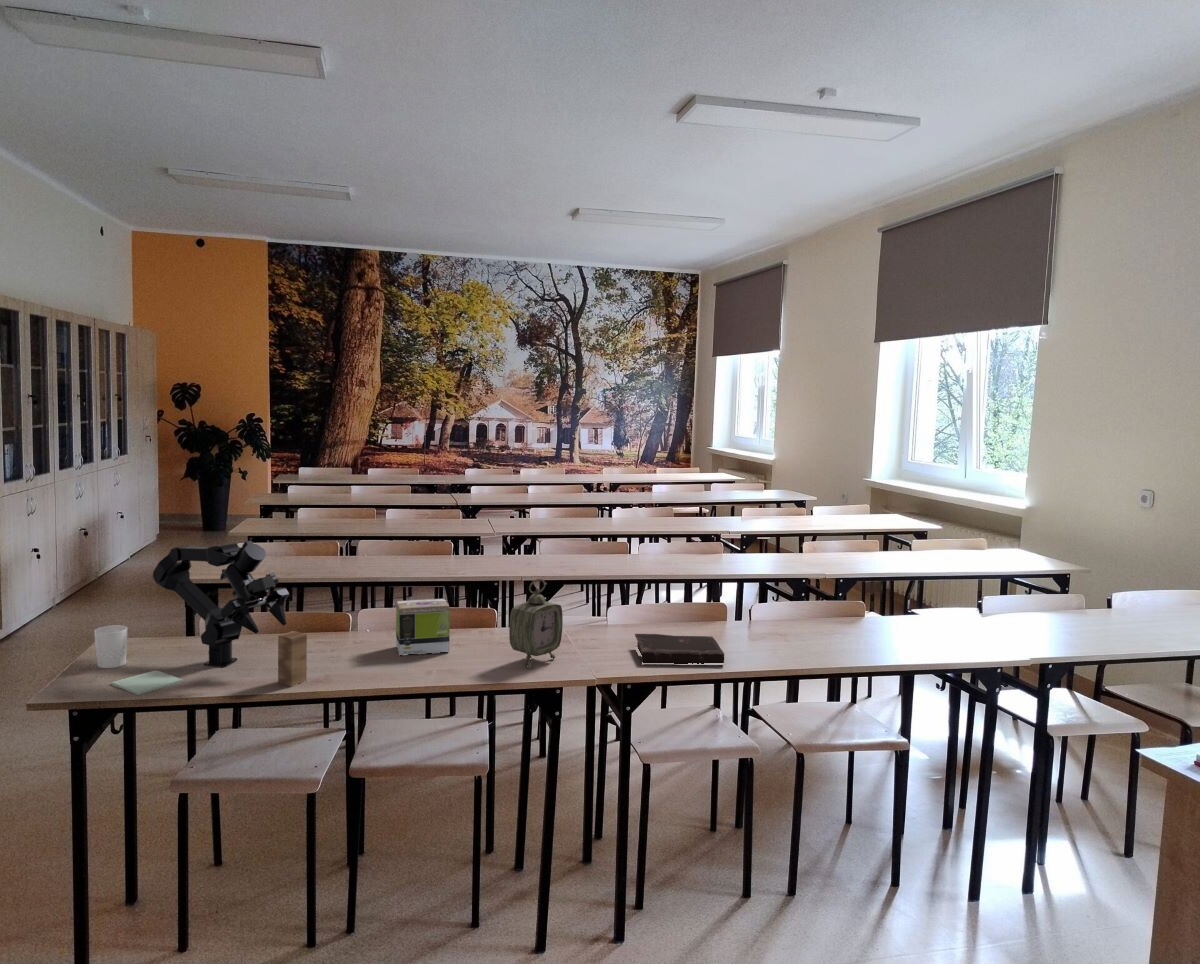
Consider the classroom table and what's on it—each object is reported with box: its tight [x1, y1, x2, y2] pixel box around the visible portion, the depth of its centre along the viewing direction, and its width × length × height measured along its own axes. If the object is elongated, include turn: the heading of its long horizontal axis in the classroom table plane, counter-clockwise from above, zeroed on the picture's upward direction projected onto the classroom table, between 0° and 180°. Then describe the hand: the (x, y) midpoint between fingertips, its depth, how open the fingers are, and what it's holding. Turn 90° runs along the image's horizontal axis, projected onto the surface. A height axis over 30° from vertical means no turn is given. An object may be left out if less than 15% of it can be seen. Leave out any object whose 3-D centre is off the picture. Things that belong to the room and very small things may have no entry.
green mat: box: [110, 670, 184, 695], centre depth 219 cm, size 12×12×1 cm
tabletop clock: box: [508, 578, 564, 668], centre depth 248 cm, size 14×9×25 cm, turn 143°
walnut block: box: [277, 630, 308, 687], centre depth 223 cm, size 5×5×13 cm
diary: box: [634, 633, 725, 664], centre depth 261 cm, size 19×25×5 cm
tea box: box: [395, 598, 451, 656], centre depth 255 cm, size 15×10×15 cm
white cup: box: [93, 624, 128, 669], centre depth 231 cm, size 8×8×10 cm
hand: (271, 628), depth 226 cm, fingers open, 9 cm apart
